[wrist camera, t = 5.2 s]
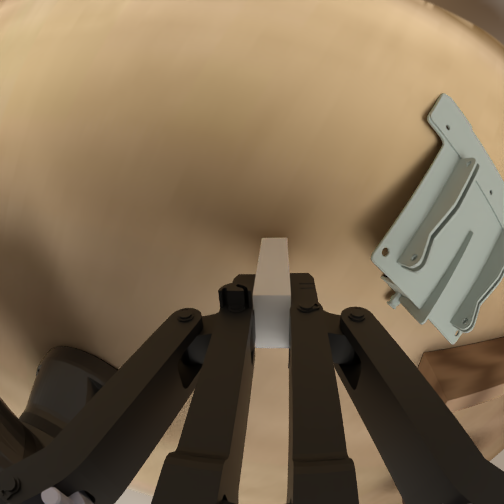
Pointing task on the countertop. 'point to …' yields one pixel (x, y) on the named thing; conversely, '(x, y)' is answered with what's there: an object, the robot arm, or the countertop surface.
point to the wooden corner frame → (466, 373)
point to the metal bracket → (448, 232)
